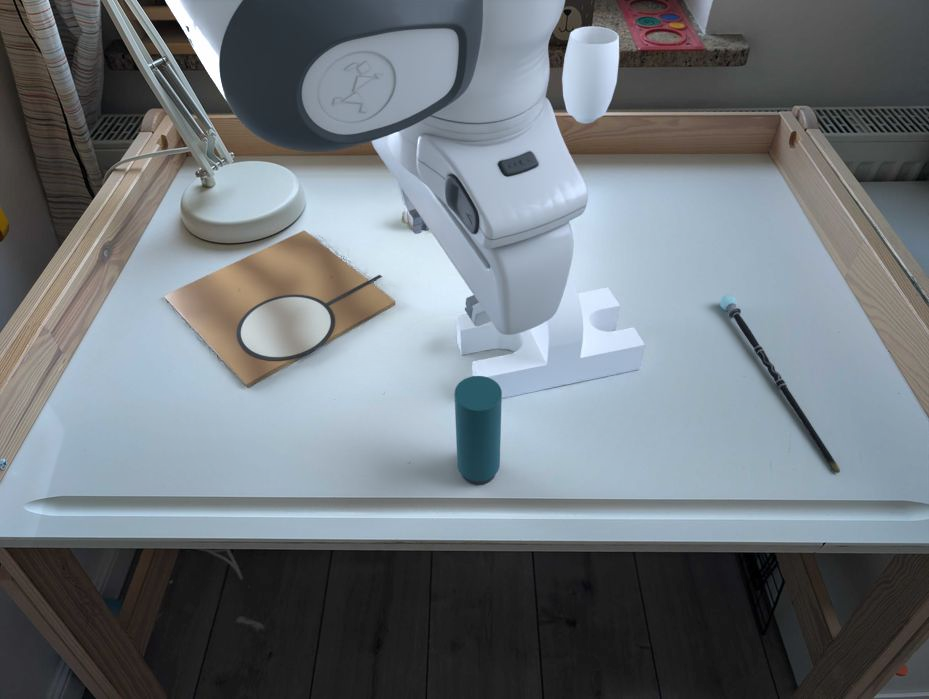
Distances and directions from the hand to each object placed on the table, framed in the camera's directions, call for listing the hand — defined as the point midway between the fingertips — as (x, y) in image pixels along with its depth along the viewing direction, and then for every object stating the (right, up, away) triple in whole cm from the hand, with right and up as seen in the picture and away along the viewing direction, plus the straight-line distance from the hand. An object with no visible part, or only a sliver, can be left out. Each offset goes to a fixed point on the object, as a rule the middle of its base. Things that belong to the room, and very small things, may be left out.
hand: (448, 269), depth 52 cm
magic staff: (+34, -9, +24) cm, 42 cm away
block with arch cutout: (+10, -7, +27) cm, 30 cm away
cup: (+18, +19, +53) cm, 59 cm away
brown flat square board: (-21, 0, +34) cm, 40 cm away
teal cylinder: (+2, -17, +16) cm, 24 cm away
